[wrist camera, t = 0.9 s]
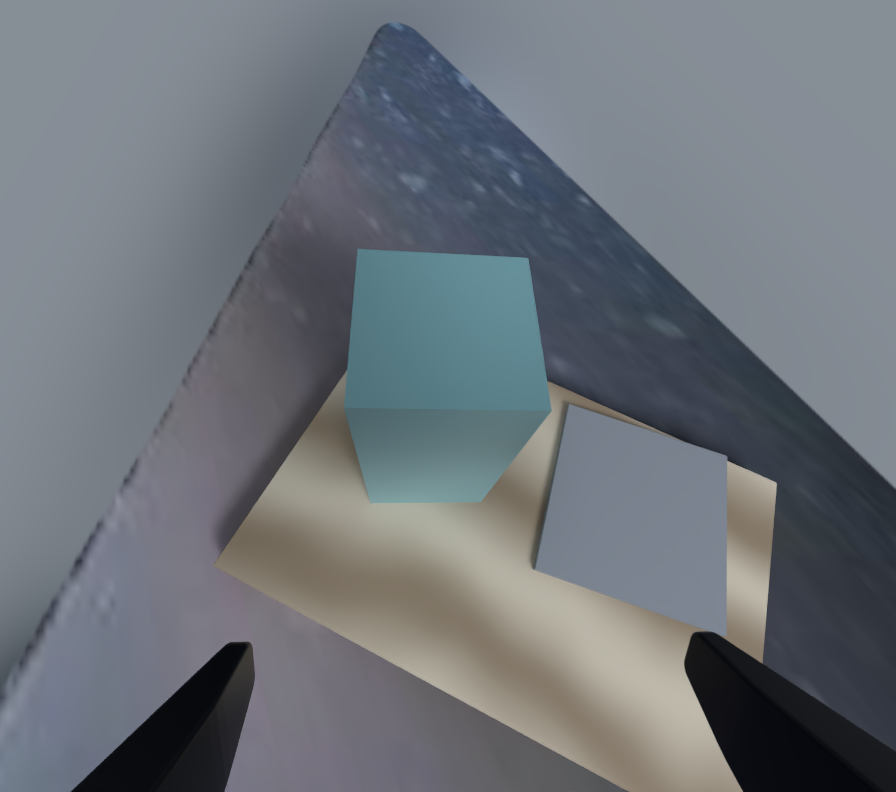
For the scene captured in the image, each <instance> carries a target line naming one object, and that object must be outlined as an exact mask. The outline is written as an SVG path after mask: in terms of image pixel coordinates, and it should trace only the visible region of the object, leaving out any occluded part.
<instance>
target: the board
mask: <svg viewBox="0 0 896 792" xmlns="http://www.w3.org/2000/svg"><path fill="white" fill-rule="evenodd" d="M346 378H347V371H346V372H345V374H344V375H343V376H342V378H341V379H340V381H339V382H338V384H337V385H336V387H335V388H334V390H333V391H332V393H331V394H330V395H329V397H328V398H327V400H326V401H325V403H324V404H323V406H322V407H321V409H320V410H319V412H318V413H317V414H316V416H315V417H314V419H313V420H312V422H311V423H310V425H309V426H308V428H307V429H306V431H305V432H304V433H303V435H302V436H301V438H300V439H299V441H298V442H297V444H296V445H295V447H294V448H293V450H292V451H291V452H290V454H289V455H288V457H287V458H286V460H285V461H284V463H283V464H282V466H281V467H280V469H279V470H278V471H277V473H276V474H275V476H274V477H273V479H272V480H271V482H270V483H269V485H268V486H267V488H266V489H265V490H264V492H263V493H262V495H261V496H260V498H259V499H258V501H257V502H256V504H255V505H254V507H253V508H252V509H251V511H250V512H249V514H248V515H247V517H246V518H245V520H244V521H243V523H242V524H241V526H240V527H239V528H238V530H237V531H236V533H235V534H234V536H233V537H232V539H231V540H230V542H229V543H228V545H227V546H226V547H225V549H224V550H223V552H222V553H221V555H220V556H219V558H218V559H217V561H216V562H215V564H214V565H213V566H214V567H216V568H218V569H220V570H222V571H224V572H225V573H227V574H229V575H231V576H233V577H235V578H236V579H238V580H240V581H242V582H244V583H246V584H247V585H249V586H251V587H253V588H255V589H257V590H259V591H260V592H262V593H264V594H266V595H268V596H270V597H271V598H273V599H275V600H277V601H279V602H281V603H282V604H284V605H286V606H288V607H290V608H292V609H294V610H295V611H297V612H299V613H301V614H303V615H305V616H306V617H308V618H310V619H312V620H314V621H316V622H317V623H319V624H321V625H323V626H325V627H327V628H329V629H330V630H332V631H334V632H336V633H338V634H340V635H341V636H343V637H345V638H347V639H349V640H351V641H352V642H354V643H356V644H358V645H360V646H362V647H364V648H365V649H367V650H369V651H371V652H373V653H375V654H376V655H378V656H380V657H382V658H384V659H386V660H387V661H389V662H391V663H393V664H395V665H397V666H399V667H400V668H402V669H404V670H406V671H408V672H410V673H411V674H413V675H415V676H417V677H419V678H421V679H422V680H424V681H426V682H428V683H430V684H432V685H434V686H435V687H437V688H439V689H441V690H443V691H445V692H446V693H448V694H450V695H452V696H454V697H456V698H457V699H459V700H461V701H463V702H465V703H467V704H469V705H470V706H472V707H474V708H476V709H478V710H480V711H481V712H483V713H485V714H487V715H489V716H491V717H492V718H494V719H496V720H498V721H500V722H502V723H503V724H505V725H507V726H509V727H511V728H513V729H515V730H516V731H518V732H520V733H522V734H524V735H526V736H527V737H529V738H531V739H533V740H535V741H537V742H538V743H540V744H542V745H544V746H546V747H548V748H550V749H551V750H553V751H555V752H557V753H559V754H561V755H562V756H564V757H566V758H568V759H570V760H572V761H573V762H575V763H577V764H579V765H581V766H583V767H585V768H586V769H588V770H590V771H592V772H594V773H596V774H597V775H599V776H601V777H603V778H605V779H607V780H608V781H610V782H612V783H614V784H616V785H618V786H620V787H621V788H623V789H625V790H627V791H629V792H743V791H742V789H741V787H740V786H739V784H738V782H737V780H736V778H735V777H734V775H733V773H732V771H731V769H730V767H729V765H728V763H727V761H726V760H725V758H724V756H723V754H722V751H721V749H720V747H719V745H718V743H717V741H716V739H715V737H714V734H713V732H712V730H711V728H710V726H709V723H708V721H707V719H706V717H705V715H704V712H703V710H702V708H701V706H700V704H699V701H698V699H697V697H696V695H695V693H694V691H693V688H692V686H691V684H690V682H689V680H688V677H687V675H686V672H685V668H684V659H685V655H686V652H687V648H688V645H689V641H690V637H691V635H692V634H693V633H694V632H699V631H705V630H703V629H700V628H697V627H694V626H691V625H688V624H686V623H683V622H680V621H677V620H674V619H671V618H669V617H666V616H663V615H660V614H657V613H654V612H652V611H649V610H646V609H643V608H640V607H637V606H635V605H632V604H629V603H626V602H623V601H620V600H618V599H615V598H612V597H609V596H606V595H603V594H601V593H598V592H595V591H592V590H589V589H586V588H583V587H581V586H578V585H575V584H572V583H569V582H566V581H564V580H561V579H558V578H555V577H552V576H549V575H547V574H544V573H541V572H538V571H535V570H533V567H534V562H535V557H536V553H537V548H538V543H539V538H540V533H541V528H542V524H543V519H544V514H545V509H546V504H547V500H548V495H549V490H550V485H551V480H552V475H553V471H554V466H555V461H556V456H557V451H558V446H559V442H560V437H561V432H562V427H563V422H564V418H565V413H566V408H567V406H568V405H569V404H571V405H574V406H577V407H580V408H583V409H586V410H589V411H592V412H595V413H598V414H601V415H604V416H607V417H610V418H613V419H616V420H619V421H622V422H625V423H628V424H631V425H634V426H637V427H640V428H644V429H647V430H650V431H653V432H656V433H659V434H662V435H665V436H668V437H671V438H674V439H677V438H675V437H672V436H670V435H668V434H666V433H663V432H661V431H659V430H657V429H654V428H652V427H650V426H648V425H645V424H643V423H641V422H639V421H636V420H634V419H632V418H630V417H627V416H625V415H623V414H621V413H618V412H616V411H614V410H612V409H609V408H607V407H605V406H603V405H600V404H598V403H596V402H594V401H591V400H589V399H587V398H585V397H582V396H580V395H578V394H576V393H574V392H571V391H569V390H567V389H565V388H562V387H560V386H558V385H556V384H553V383H551V382H549V381H547V384H548V390H549V397H550V403H551V409H552V411H551V412H550V414H549V415H548V416H547V418H546V419H545V420H544V421H543V423H542V424H541V425H540V427H539V428H538V429H537V430H536V432H535V433H534V434H533V436H532V437H531V438H530V439H529V441H528V442H527V443H526V445H525V446H524V447H523V448H522V450H521V451H520V452H519V454H518V455H517V456H516V457H515V459H514V460H513V461H512V463H511V464H510V465H509V466H508V468H507V469H506V470H505V472H504V473H503V474H502V475H501V477H500V478H499V479H498V481H497V482H496V483H495V484H494V486H493V487H492V488H491V490H490V491H489V492H488V493H487V495H486V496H485V497H484V499H483V500H482V501H481V502H451V503H370V499H369V496H368V492H367V489H366V485H365V481H364V478H363V474H362V471H361V467H360V464H359V460H358V456H357V453H356V449H355V446H354V442H353V439H352V435H351V431H350V428H349V424H348V421H347V417H346V414H345V410H344V401H345V389H346ZM677 440H679V439H677ZM680 441H681V440H680ZM683 442H684V441H683ZM776 486H777V483H776V482H773V481H771V480H769V479H767V478H764V477H762V476H760V475H758V474H755V473H753V472H751V471H749V470H746V469H744V468H742V467H740V466H737V465H735V464H733V463H731V462H729V461H727V636H721V637H723V638H724V639H726V640H727V641H729V642H730V643H732V644H733V645H735V646H737V647H738V648H740V649H741V650H743V651H744V652H746V653H747V654H749V655H750V656H752V657H753V658H755V659H756V660H758V661H759V662H761V663H762V662H763V649H764V636H765V624H766V611H767V599H768V586H769V574H770V561H771V549H772V536H773V524H774V511H775V498H776Z"/></svg>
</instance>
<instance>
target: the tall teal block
mask: <svg viewBox="0 0 896 792" xmlns="http://www.w3.org/2000/svg"><path fill="white" fill-rule="evenodd" d="M344 410H345V414H346V417H347V421H348V424H349V428H350V431H351V435H352V439H353V442H354V446H355V449H356V453H357V456H358V460H359V464H360V467H361V471H362V474H363V478H364V481H365V485H366V489H367V492H368V496H369V499H370V503H451V502H481V501H482V500H483V499H484V497H485V496H486V495H487V493H488V492H489V491H490V490H491V488H492V487H493V486H494V484H495V483H496V482H497V481H498V479H499V478H500V477H501V475H502V474H503V473H504V472H505V470H506V469H507V468H508V466H509V465H510V464H511V463H512V461H513V460H514V459H515V457H516V456H517V455H518V454H519V452H520V451H521V450H522V448H523V447H524V446H525V445H526V443H527V442H528V441H529V439H530V438H531V437H532V436H533V434H534V433H535V432H536V430H537V429H538V428H539V427H540V425H541V424H542V423H543V421H544V420H545V419H546V418H547V416H548V415H549V414H550V412H551V411H552V409H551V403H550V397H549V390H548V384H547V377H546V371H545V364H544V358H543V351H542V345H541V338H540V332H539V325H538V319H537V312H536V306H535V299H534V293H533V286H532V280H531V273H530V267H529V260H528V258H518V257H499V256H481V255H462V254H443V253H425V252H406V251H387V250H369V249H358V250H357V262H356V273H355V285H354V297H353V308H352V320H351V331H350V343H349V354H348V366H347V378H346V389H345V401H344Z"/></svg>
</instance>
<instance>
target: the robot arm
mask: <svg viewBox="0 0 896 792" xmlns="http://www.w3.org/2000/svg"><path fill="white" fill-rule="evenodd" d="M684 668H685V672H686V675H687V677H688V680H689V682H690V684H691V686H692V688H693V691H694V693H695V695H696V697H697V699H698V701H699V704H700V706H701V708H702V710H703V712H704V715H705V717H706V719H707V721H708V723H709V726H710V728H711V730H712V732H713V734H714V737H715V739H716V741H717V743H718V745H719V747H720V749H721V751H722V754H723V756H724V758H725V760H726V761H727V763H728V765H729V767H730V769H731V771H732V773H733V775H734V777H735V778H736V780H737V782H738V784H739V786H740V787H741V789H742V791H743V792H896V751H894V750H893V749H891V748H890V747H888V746H887V745H885V744H884V743H882V742H881V741H879V740H878V739H876V738H875V737H873V736H872V735H870V734H869V733H867V732H866V731H864V730H863V729H861V728H860V727H858V726H857V725H855V724H853V723H852V722H850V721H849V720H847V719H846V718H844V717H843V716H841V715H840V714H838V713H837V712H835V711H834V710H832V709H831V708H829V707H828V706H826V705H825V704H823V703H822V702H820V701H819V700H817V699H816V698H814V697H812V696H811V695H809V694H808V693H806V692H805V691H803V690H802V689H800V688H799V687H797V686H796V685H794V684H793V683H791V682H790V681H788V680H787V679H785V678H784V677H782V676H781V675H779V674H778V673H776V672H774V671H773V670H771V669H770V668H768V667H767V666H765V665H764V664H762V663H761V662H759V661H758V660H756V659H755V658H753V657H752V656H750V655H749V654H747V653H746V652H744V651H743V650H741V649H740V648H738V647H737V646H735V645H733V644H732V643H730V642H729V641H727V640H726V639H724V638H723V637H721V636H720V635H718V634H717V633H715V632H711V631H699V632H694V633H693V634H692V635H691V637H690V641H689V645H688V648H687V652H686V655H685V659H684ZM254 679H255V671H254V660H253V649H252V645H251V643H250V642H230V643H228V644H226V645H225V646H224V647H223V648H222V649H221V650H220V651H218V652H217V653H216V654H215V655H214V656H213V657H212V658H211V659H210V660H209V661H208V662H207V663H206V664H205V665H204V666H203V667H202V668H201V669H200V670H198V671H197V672H196V673H195V674H194V675H193V676H192V677H191V678H190V679H189V680H188V681H187V682H186V683H185V684H184V685H183V686H182V687H181V688H180V689H178V690H177V691H176V692H175V693H174V694H173V695H172V696H171V697H170V698H169V699H168V700H167V701H166V702H165V703H164V704H163V705H162V706H161V707H160V708H158V709H157V710H156V711H155V712H154V713H153V714H152V715H151V716H150V717H149V718H148V719H147V720H146V721H145V722H144V723H143V724H142V725H141V726H140V727H138V728H137V729H136V730H135V731H134V732H133V733H132V734H131V735H130V736H129V737H128V738H127V739H126V740H125V741H124V742H123V743H122V744H121V745H120V746H118V747H117V748H116V749H115V750H114V751H113V752H112V753H111V754H110V755H109V756H108V757H107V758H106V759H105V760H104V761H103V762H102V763H101V764H100V765H98V766H97V767H96V768H95V769H94V770H93V771H92V772H91V773H90V774H89V775H88V776H87V777H86V778H85V779H84V780H83V781H82V782H81V783H80V784H78V785H77V786H76V787H75V788H74V789H73V790H72V791H71V792H224V791H225V788H226V785H227V781H228V778H229V774H230V771H231V767H232V764H233V760H234V756H235V753H236V749H237V745H238V742H239V738H240V734H241V731H242V727H243V723H244V720H245V716H246V712H247V709H248V705H249V701H250V698H251V694H252V690H253V686H254Z"/></svg>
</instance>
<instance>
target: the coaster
mask: <svg viewBox="0 0 896 792" xmlns="http://www.w3.org/2000/svg"><path fill="white" fill-rule="evenodd" d="M533 570H535V571H538V572H541V573H544V574H547V575H549V576H552V577H555V578H558V579H561V580H564V581H566V582H569V583H572V584H575V585H578V586H581V587H583V588H586V589H589V590H592V591H595V592H598V593H601V594H603V595H606V596H609V597H612V598H615V599H618V600H620V601H623V602H626V603H629V604H632V605H635V606H637V607H640V608H643V609H646V610H649V611H652V612H654V613H657V614H660V615H663V616H666V617H669V618H671V619H674V620H677V621H680V622H683V623H686V624H688V625H691V626H694V627H697V628H700V629H703V630H705V631H711V632H715V633H717V634H718V635H720V636H727V456H725V455H722V454H719V453H716V452H713V451H710V450H707V449H704V448H701V447H698V446H695V445H692V444H689V443H686V442H683V441H680V440H677V439H674V438H671V437H668V436H665V435H662V434H659V433H656V432H653V431H650V430H647V429H644V428H640V427H637V426H634V425H631V424H628V423H625V422H622V421H619V420H616V419H613V418H610V417H607V416H604V415H601V414H598V413H595V412H592V411H589V410H586V409H583V408H580V407H577V406H574V405H571V404H569V405H568V406H567V408H566V413H565V418H564V422H563V427H562V432H561V437H560V442H559V446H558V451H557V456H556V461H555V466H554V471H553V475H552V480H551V485H550V490H549V495H548V500H547V504H546V509H545V514H544V519H543V524H542V528H541V533H540V538H539V543H538V548H537V553H536V557H535V562H534V567H533Z"/></svg>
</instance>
